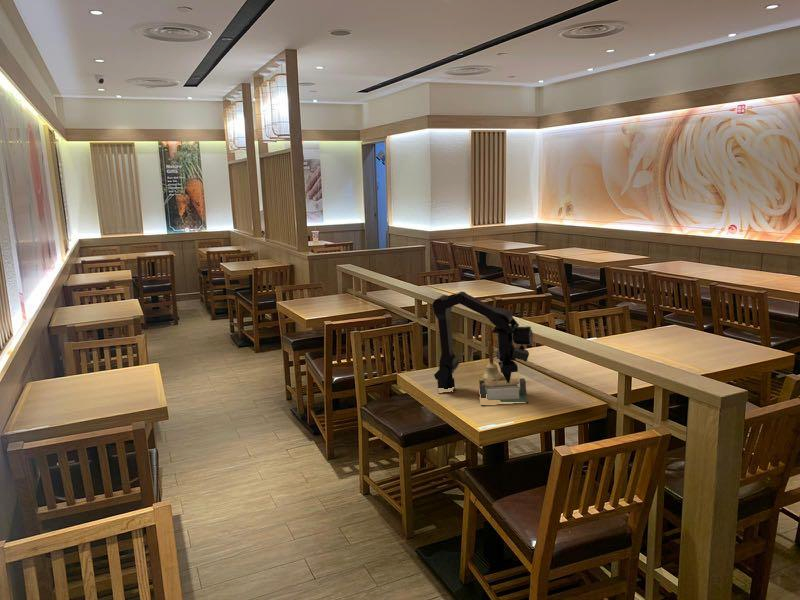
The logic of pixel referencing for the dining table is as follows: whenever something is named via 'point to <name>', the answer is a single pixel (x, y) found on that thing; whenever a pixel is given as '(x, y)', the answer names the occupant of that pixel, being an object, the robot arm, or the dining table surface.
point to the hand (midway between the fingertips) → (508, 381)
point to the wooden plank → (500, 383)
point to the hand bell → (491, 366)
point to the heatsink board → (505, 392)
